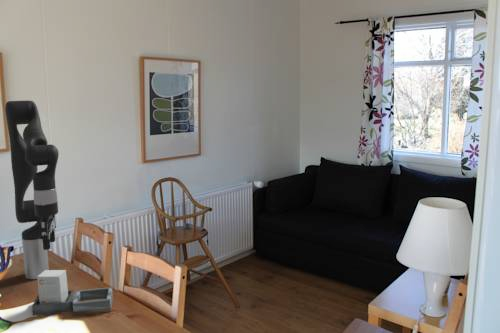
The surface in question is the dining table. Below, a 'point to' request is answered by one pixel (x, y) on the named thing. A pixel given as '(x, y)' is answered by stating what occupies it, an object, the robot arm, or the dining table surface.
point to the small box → (52, 286)
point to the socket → (53, 305)
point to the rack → (93, 301)
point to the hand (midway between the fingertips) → (49, 245)
